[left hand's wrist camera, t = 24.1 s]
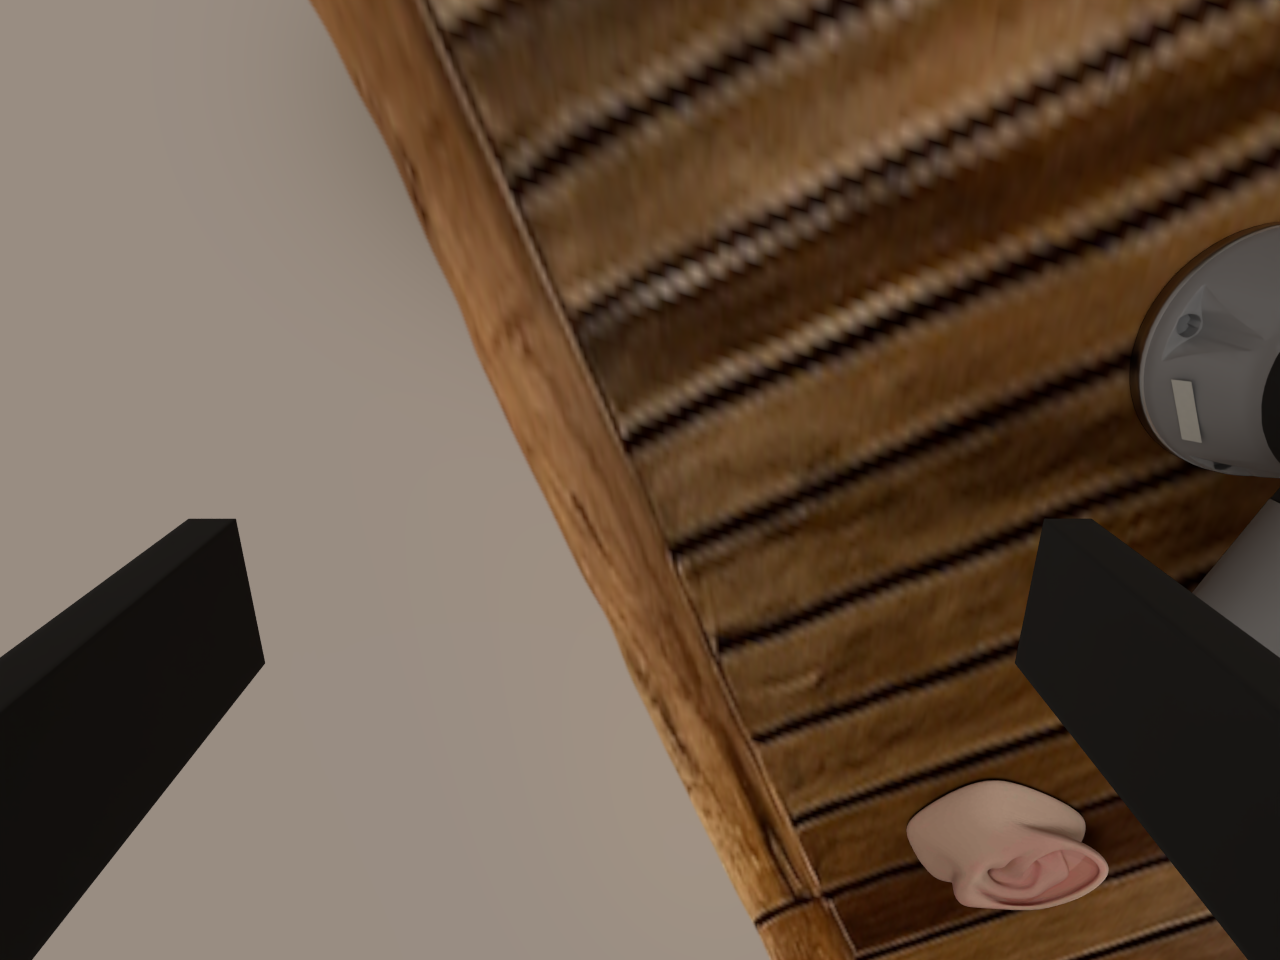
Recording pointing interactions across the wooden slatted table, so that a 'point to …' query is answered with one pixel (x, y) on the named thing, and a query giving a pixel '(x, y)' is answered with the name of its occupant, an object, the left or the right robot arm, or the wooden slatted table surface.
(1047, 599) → the left robot arm
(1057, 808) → the anatomical model
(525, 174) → the wooden slatted table surface
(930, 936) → the wooden slatted table surface
